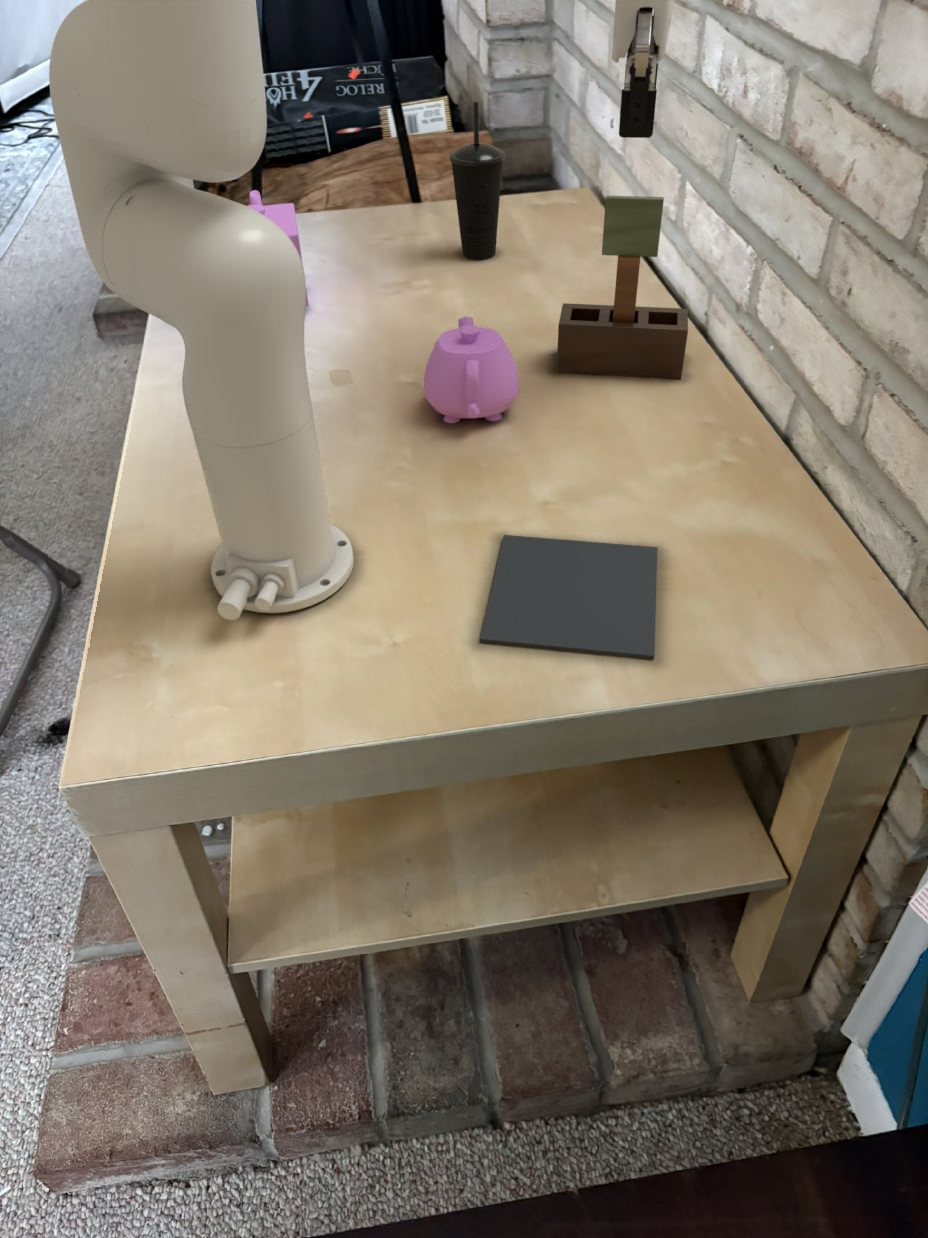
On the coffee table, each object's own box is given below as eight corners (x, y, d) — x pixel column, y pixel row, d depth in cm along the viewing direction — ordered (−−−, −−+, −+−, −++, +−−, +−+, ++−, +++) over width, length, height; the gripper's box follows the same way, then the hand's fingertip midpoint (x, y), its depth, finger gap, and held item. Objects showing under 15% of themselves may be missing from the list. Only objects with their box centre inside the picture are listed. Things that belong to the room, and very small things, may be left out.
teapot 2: (426, 440, 98) (420, 359, 92) (424, 373, 109) (419, 296, 103) (523, 436, 98) (524, 355, 92) (512, 368, 109) (512, 292, 103)
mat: (653, 659, 73) (654, 655, 73) (480, 642, 75) (480, 638, 75) (656, 550, 83) (657, 546, 83) (503, 537, 85) (503, 534, 85)
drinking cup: (444, 249, 137) (437, 99, 123) (490, 240, 139) (489, 91, 125) (466, 267, 132) (461, 112, 118) (513, 257, 134) (514, 104, 120)
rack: (681, 379, 106) (688, 329, 102) (556, 372, 108) (558, 323, 104) (681, 356, 110) (687, 308, 106) (560, 350, 112) (563, 302, 108)
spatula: (644, 370, 108) (663, 201, 95) (593, 367, 109) (605, 200, 96) (645, 361, 110) (664, 194, 97) (594, 358, 110) (606, 192, 98)
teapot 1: (311, 325, 119) (296, 226, 111) (232, 333, 118) (211, 234, 110) (303, 266, 134) (289, 174, 125) (233, 273, 133) (214, 181, 124)
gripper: (615, -106, 87) (603, 97, 98) (606, -80, 74) (593, 148, 86) (697, -108, 86) (675, 97, 97) (700, -83, 73) (675, 149, 85)
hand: (636, 121), depth 92 cm, fingers open, 9 cm apart
